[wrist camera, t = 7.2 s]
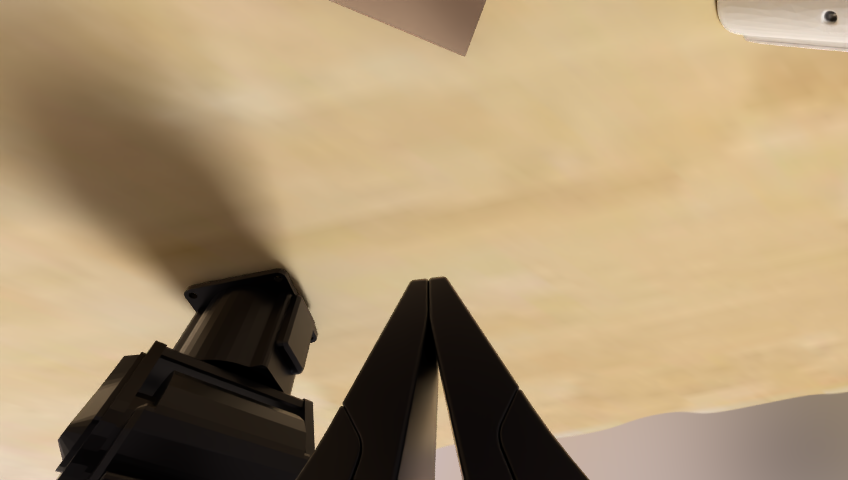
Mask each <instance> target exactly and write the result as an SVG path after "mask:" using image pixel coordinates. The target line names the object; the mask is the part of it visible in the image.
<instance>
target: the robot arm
mask: <svg viewBox="0 0 848 480" xmlns="http://www.w3.org/2000/svg"><path fill="white" fill-rule="evenodd" d="M277 276H281V277H282V278H278V277H277ZM193 293H195V294H193ZM184 296H185V298H186V299H187V300H188V302H189V303H190V304H191V306H192V307H193V308H194V310H195V311H196V314H195V315H194V317H193V318H192V320H191V322H190V323H189V325H188V326H187V328H186V329H185V331H184V332H183V334H182V336H181V337H180V339H179V340H178V342H177V343H176V345H175V347H174V348H173V349H171V348H168V347H166V346H167V345H166V344H164V343H161V342H158V341H155V342H154V344H153V345H152V346H151V348H150V349H149V351H148V352H147V353H144V352H141V354H140V355H130V356H124V357H123V358H122V360H121V361H120V362H119V363H118V365H117V366H116V367H115V369H114V370H113V371H112V373H111V374H110V375H109V376H108V378H107V379H106V380H105V382H104V383H103V384H102V385H101V387H100V388H99V389H98V390H97V392H96V393H95V394H94V395H93V396H92V398H91V399H90V400H89V401H88V403H87V404H86V405H85V406H84V407H83V409H82V410H81V411H80V412H79V413H78V415H77V416H76V417H75V418H74V420H73V421H72V422H71V423H70V424H69V426H68V427H67V428H66V430H65V431H64V432H63V434H62V435H61V436H60V438H59V439H58V443H59V447H60V452H61V456H62V460H63V461H62V462H61V464H60V465H59V466H58V468H57V469H56V470H55V471H57V472H61V474H60V475H59V477H58V478H57V479H56V480H435V457H436V430H437V403H438V366H439V371H440V376H441V381H442V386H443V391H444V395H445V400H446V405H447V410H448V414H449V419H450V424H451V428H452V433H453V438H454V443H455V447H456V452H457V457H458V462H459V466H460V471H461V476H462V480H589V479H588V478H587V476H586V475H585V474H584V473H583V472H582V470H581V469H580V468H579V467H578V466H577V464H576V463H575V462H574V461H573V460H572V458H571V457H570V456H569V455H568V453H567V452H566V451H565V450H564V448H563V447H562V446H561V445H560V443H559V442H558V441H557V439H556V438H555V437H554V436H553V434H552V433H551V432H550V431H549V429H548V428H547V426H546V425H545V424H544V422H543V421H542V419H541V418H540V416H539V415H538V414H537V412H536V411H535V409H534V408H533V407H532V405H531V404H530V402H529V401H528V399H527V398H526V396H525V395H524V393H523V392H522V390H519V386H518V384H517V383H516V381H515V380H514V378H513V377H512V375H511V374H510V372H509V371H508V369H507V368H506V366H505V365H504V363H503V362H502V360H501V359H500V357H499V356H498V354H497V353H496V351H495V350H494V348H493V347H492V345H491V344H490V342H489V341H488V339H487V338H486V336H485V335H484V333H483V332H482V330H481V329H480V327H479V326H478V324H477V323H476V321H475V320H474V318H473V317H472V315H471V314H470V312H469V311H468V309H467V308H466V306H465V305H464V303H463V302H462V300H461V299H460V297H459V296H458V294H457V293H456V291H455V290H454V288H453V287H452V285H451V284H450V282H449V281H448V279H447V278H446V277H435V278H430V279H429V281H428V280H427V279H418V280H412V281H411V282H410V283H409V285H408V287H407V289H406V290H405V292H404V294H403V296H402V297H401V299H400V301H399V303H398V305H397V306H396V308H395V310H394V312H393V314H392V315H391V317H390V319H389V321H388V323H387V324H386V326H385V328H384V330H383V331H382V333H381V335H380V337H379V339H378V340H377V342H376V344H375V346H374V348H373V349H372V351H371V353H370V355H369V357H368V358H367V360H366V362H365V364H364V365H363V367H362V369H361V371H360V373H359V374H358V376H357V378H356V380H355V382H354V383H353V385H352V387H351V389H350V391H349V392H348V394H347V396H346V398H345V399H344V401H343V406H341V407H340V408H339V410H338V412H337V413H336V415H335V417H334V419H333V421H332V422H331V424H330V426H329V428H328V429H327V431H326V433H325V434H324V436H323V438H322V439H321V441H320V443H319V444H318V446H317V448H316V450H315V444H314V420H313V402H312V401H309V400H307V399H303V400H302V399H299V398H297V397H294V396H292V395H291V391H292V387H293V383H294V379H295V375H296V374H300V373H302V371H303V370H304V367H305V362H306V358H307V354H308V350H309V345H310V343H312V342H315V341H316V339H317V335H318V333H317V331H316V329H315V327H314V324H315V322H314V320H313V318H312V316H311V313H310V311H309V309H308V307H307V305H306V303H305V301H304V299H303V297H301V296H300V295H298V293H297V291H296V289H295V287H294V285H293V283H292V281H291V279H290V277H289V275H288V273H287V272H286V271H285V270H283V269H274V270H269V271H263V272H258V273H253V274H248V275H243V276H238V277H233V278H228V279H223V280H218V281H213V282H207V283H202V284H197V285H192V286H189V287H188V288H187V290H186V291H185V292H184Z"/></svg>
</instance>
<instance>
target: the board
mask: <svg viewBox="0 0 848 480" xmlns="http://www.w3.org/2000/svg"><path fill="white" fill-rule="evenodd" d="M330 1H332V2H335V3H337V4H339V5H342V6H344V7H347V8H349V9H351V10H354V11H356V12H359V13H361V14H363V15H366V16H368V17H371V18H373V19H375V20H378V21H380V22H383V23H385V24H387V25H390V26H392V27H395V28H397V29H400V30H402V31H404V32H407V33H409V34H412V35H414V36H416V37H419V38H421V39H424V40H426V41H428V42H431V43H433V44H436V45H438V46H440V47H443V48H445V49H448V50H450V51H452V52H455V53H457V54H460V55H462V56H465V55H466V53H467V50H468V47H469V45H470V42H471V39H472V37H473V34H474V31H475V29H476V26H477V23H478V21H479V18H480V15H481V13H482V10H483V7H484V5H485V2H486V0H330Z"/></svg>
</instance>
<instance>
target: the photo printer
mask: <svg viewBox="0 0 848 480" xmlns="http://www.w3.org/2000/svg"><path fill="white" fill-rule="evenodd" d="M717 10H718V16H719V19H720V22H721V23H722V25H723V26H724V28H725V29H726V30H728V31H730V32H732V33H734V34H740V35H743V36H744V38H745V40H746V41H750V42H754V43H760V44H769V45H778V46H788V47H800V48H810V49H821V50H833V51H844V52H848V0H717Z"/></svg>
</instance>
